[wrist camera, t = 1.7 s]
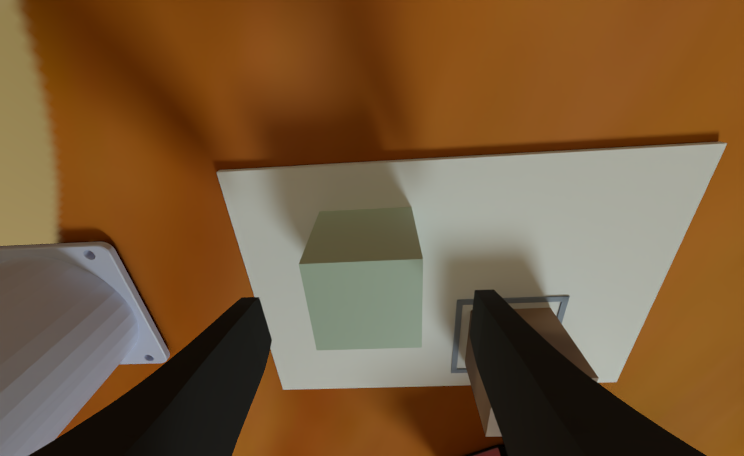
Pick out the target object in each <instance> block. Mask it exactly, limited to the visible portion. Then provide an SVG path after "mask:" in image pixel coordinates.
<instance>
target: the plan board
mask: <svg viewBox="0 0 744 456" xmlns="http://www.w3.org/2000/svg"><path fill="white" fill-rule="evenodd" d="M726 145H727V143H724V142H703V143H685V144H668V145H650V146H633V147H615V148H598V149H580V150H563V151H545V152H528V153H510V154H492V155H475V156H457V157H440V158H422V159H405V160H387V161H370V162H352V163H335V164H317V165H299V166H282V167H264V168H247V169H229V170H219V171H217V172H216V173H217V176H218V180H219V183H220V186H221V189H222V193H223V196H224V199H225V202H226V206H227V209H228V212H229V215H230V219H231V222H232V225H233V228H234V232H235V235H236V238H237V241H238V245H239V248H240V251H241V254H242V258H243V261H244V264H245V267H246V271H247V274H248V277H249V280H250V284H251V287H252V290H253V293H254V297H259V299H260V302H261V305H262V309H263V312H264V315H265V319H266V322H267V325H268V329H269V332H270V335H271V339H272V343H271V347H270V349H271V352H272V355H273V358H274V362H275V365H276V368H277V371H278V375H279V378H280V381H281V384H282V388H283V390H287V389H331V388H375V387H420V386H464V385H471V383H470V380H469V376H468V373H467V369H466V366H465V357H466V348H467V339H468V330H469V320H470V311H471V310H472V309H473V301H474V292H475V290H491V289H494V290H495V291H496V292H497V293H498V294H499V295H500V296H501V297H502V298H503V299H504V300H505V301H506V302H507V303H508V304H509V305H510V306H511V307H512V308H513V309H525V308H551V309H552V311H553V312H554V314H555V315H556V317H557V318H558V320H559V321H560V322H561V324H562V325H563V327H564V328H565V330H566V331H567V333H568V334H569V335H570V337H571V338H572V340H573V341H574V343H575V344H576V346H577V347H578V348H579V350H580V351H581V353H582V354H583V356H584V357H585V359H586V360H587V362H588V363H589V364H590V366H591V367H592V369H593V370H594V372H595V373H596V375H597V376H598V377H599V378H598V381H597V382H617V380H618V378H619V375H620V373H621V371H622V369H623V367H624V365H625V362H626V360H627V358H628V356H629V354H630V352H631V350H632V347H633V345H634V343H635V341H636V339H637V337H638V334H639V332H640V330H641V328H642V326H643V324H644V322H645V319H646V317H647V315H648V313H649V311H650V309H651V306H652V304H653V302H654V300H655V298H656V296H657V294H658V291H659V289H660V287H661V285H662V283H663V281H664V278H665V276H666V274H667V272H668V270H669V268H670V266H671V263H672V261H673V259H674V257H675V255H676V253H677V250H678V248H679V246H680V244H681V242H682V240H683V238H684V235H685V233H686V231H687V229H688V227H689V225H690V222H691V220H692V218H693V216H694V214H695V212H696V210H697V207H698V205H699V203H700V201H701V199H702V197H703V194H704V192H705V190H706V188H707V186H708V184H709V182H710V179H711V177H712V175H713V173H714V171H715V169H716V166H717V164H718V162H719V160H720V158H721V156H722V154H723V151H724V149H725V147H726ZM400 207H412V211H413V216H414V220H415V225H416V229H417V234H418V238H419V243H420V247H421V252H422V256H423V297H422V347H420V348H385V349H350V350H317V349H316V345H315V340H314V335H313V330H312V325H311V321H310V316H309V311H308V306H307V302H306V297H305V292H304V287H303V283H302V278H301V273H300V268H299V262H300V259H301V257H302V254H303V252H304V249H305V247H306V244H307V242H308V239H309V237H310V234H311V232H312V229H313V226H314V224H315V221H316V219H317V216H318V214H319V211H339V210H360V209H380V208H400Z"/></svg>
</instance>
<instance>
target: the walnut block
mask: <svg viewBox="0 0 744 456" xmlns="http://www.w3.org/2000/svg"><path fill="white" fill-rule="evenodd" d="M514 310H515V311H516V312H517V313H518V314H519V315H520V316H521V317H522V318H523V319H524V320H525V321H526V322H527V323H528V324H529V325H530V326H531V327H532V328H534V329H535V330H536V331H537V332H538V333H539V334H540V335H541V336H542V337H543V338H544V339H545V340H546V341H548V342H549V343H550V344H551V345H552V346H553V347H554V348H555V349H556V350H558V351H559V352H560V353H561V354H562V355H564V356H565V357H566V358H567V359H568V360H569V361H571V362H572V363H573V364H574V365H575V366H577V367H578V368H579V369H580V370H582V371H583V372H584V373H585V374H587V375H588V376H589V377H591V378H592V379H593V380H595V381H596V382H597V381H598V378H599V377H598V376H597V375H596V373H595V372H594V370H593V369H592V367H591V366H590V364H589V363H588V362H587V360H586V359H585V357H584V356H583V354H582V353H581V351H580V350H579V348H578V347H577V346H576V344H575V343H574V341H573V340H572V338H571V337H570V335H569V334H568V333H567V331H566V330H565V328H564V327H563V325H562V324H561V322H560V321H559V320H558V318H557V317H556V315H555V314H554V312H553V311H552V309H551V308H525V309H514ZM471 318H472V310H471V311H470V320H469V330H468V339H467V348H466V357H465V366H466V369H467V373H468V376H469V380H470V383H471V387H472V390H473V394H474V397H475V401H476V405H477V408H478V412H479V415H480V419H481V422H482V426H483V429H484V433H485V436H486V437H500V436H502V435H501V433H500V430H499V427H498V424H497V421H496V419H495V416H494V413H493V410H492V408H491V405H490V402H489V399H488V396H487V394H486V391H485V388H484V385H483V382H482V380H481V377H480V374H479V371H478V368H477V365H476V361H475V357H474V353H473V349H472V344H471V340H470V327H471Z"/></svg>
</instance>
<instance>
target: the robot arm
mask: <svg viewBox="0 0 744 456" xmlns="http://www.w3.org/2000/svg"><path fill="white" fill-rule="evenodd" d="M92 252H93V253H92ZM470 340H471V344H472V349H473V353H474V357H475V361H476V365H477V368H478V371H479V374H480V377H481V380H482V382H483V385H484V388H485V391H486V394H487V396H488V399H489V402H490V405H491V408H492V410H493V413H494V416H495V419H496V421H497V424H498V427H499V430H500V433H501V435H502V438H503V441H504V444H505V448H506V451H507V454H508V456H706V455H705V454H703V453H701V452H700V451H698V450H696V449H695V448H693V447H691V446H690V445H688V444H687V443H685V442H684V441H682V440H680V439H679V438H677V437H676V436H674V435H672V434H671V433H669V432H668V431H666V430H665V429H663V428H662V427H660V426H659V425H657V424H656V423H654V422H653V421H651V420H650V419H648V418H647V417H645V416H644V415H642V414H641V413H639V412H638V411H636V410H635V409H633V408H632V407H630V406H629V405H627V404H626V403H625V402H623V401H622V400H620V399H619V398H617V397H616V396H615V395H613V394H612V393H611V392H609V391H608V390H607V389H605V388H604V387H603V386H601V385H600V384H599V383H597V382H596V381H595V380H593V379H592V378H591V377H589V376H588V375H587V374H585V373H584V372H583V371H582V370H580V369H579V368H578V367H577V366H575V365H574V364H573V363H572V362H571V361H569V360H568V359H567V358H566V357H565V356H564V355H562V354H561V353H560V352H559V351H558V350H556V349H555V348H554V347H553V346H552V345H551V344H550V343H549V342H548V341H546V340H545V339H544V338H543V337H542V336H541V335H540V334H539V333H538V332H537V331H536V330H535V329H534V328H532V327H531V326H530V325H529V324H528V323H527V322H526V321H525V320H524V319H523V318H522V317H521V316H520V315H519V314H518V313H517V312H516V311H515V310H514V309H513V308H512V307H511V306H510V305H509V304H508V303H507V302H506V301H505V300H504V299H503V298H502V297H501V296H500V295H499V294H498V293H497V292H496V291H495V290H494V289H491V290H475V292H474V301H473V309H472V318H471V327H470ZM271 343H272V339H271V335H270V332H269V329H268V325H267V322H266V319H265V315H264V312H263V309H262V305H261V302H260V299H259V297H248V298H241V299H239V300H238V301H237V302H236V303H235V304H234V305H232V306H231V307H230V308H229V309H228V310H227V311H226V312H224V313H223V314H222V315H221V316H220V317H219V318H218V319H217V320H216V321H214V322H213V323H212V324H211V325H210V326H209V327H208V328H207V329H205V330H204V331H203V332H202V333H201V334H200V335H199V336H197V337H196V338H195V339H194V340H193V341H192V342H191V343H189V344H188V345H187V346H186V347H185V348H183V349H182V350H181V351H180V352H179V353H177V354H176V355H175V356H174V357H172V358H171V359H170V360H169V361H167V359H168V358H169V356H170V353H169V351H168V349H167V347H166V345H165V343H164V341H163V339H162V337H161V335H160V333H159V332H158V330H157V328H156V326H155V324H154V322H153V320H152V318H151V316H150V315H149V313H148V311H147V309H146V307H145V305H144V303H143V301H142V299H141V297H140V296H139V294H138V292H137V290H136V288H135V286H134V284H133V282H132V280H131V279H130V277H129V275H128V273H127V271H126V269H125V267H124V265H123V263H122V261H121V260H120V258H119V256H118V254H117V252H116V250H115V249H114V247H113V246H112V245H110V244H108V243H106V242H101V241H100V242H78V243H57V244H38V245H37V244H36V245H14V246H0V456H232V453H233V451H234V448H235V445H236V442H237V439H238V437H239V434H240V432H241V429H242V427H243V424H244V421H245V419H246V416H247V414H248V411H249V409H250V406H251V404H252V401H253V399H254V396H255V394H256V391H257V388H258V386H259V383H260V381H261V378H262V375H263V373H264V370H265V366H266V363H267V359H268V355H269V351H270V347H271ZM166 361H167V362H166ZM164 362H166V363H165V364H164V365H163V366H161V367H160V368H159V369H158V370H156V371H155V372H154V373H153V374H151V375H150V376H149V377H147V378H146V379H145V380H143V381H142V382H141V383H139V384H138V385H137V386H135V387H134V388H132V389H131V390H130V391H128V392H127V393H125V394H124V395H123V396H121V397H120V398H118V399H117V400H116V401H114V402H113V403H111V404H110V405H108V406H107V407H105V408H104V409H102V410H101V411H99V412H98V413H96V414H94V415H93V416H91V417H90V418H88V419H87V420H85V421H84V422H82V423H81V424H79V425H77V426H76V427H74V428H73V429H71V430H70V431H68V432H67V433H65V434H63V435H62V436H60V437H59V438H57V439H56V437H57V436H58V435H59V434H60V433H61V432H62V430H63V429H64V428H65V427H66V426H67V425H68V423H69V422H70V421H71V420H72V419H73V418H74V416H75V415H76V414H77V413H78V412H79V411H80V409H81V408H82V407H83V406H84V405H85V404H86V402H87V401H88V400H89V399H90V398H91V397H92V395H93V394H94V393H95V392H96V391H97V389H98V388H99V387H100V386H101V385H102V384H103V382H104V381H105V380H106V379H107V378H108V377H109V375H110V374H111V373H112V372H113V371H114V370H115V368H116V367H117V366H118V365H119V364H147V363H164Z"/></svg>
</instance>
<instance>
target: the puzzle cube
mask: <svg viewBox="0 0 744 456" xmlns="http://www.w3.org/2000/svg"><path fill="white" fill-rule="evenodd" d="M468 456H508V454H507V451H506V448H505V447H502V446H500V445H497V446H494V447H491V448H488V449H485V450H482V451H479V452H476V453H473V454H470V455H468Z"/></svg>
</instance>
